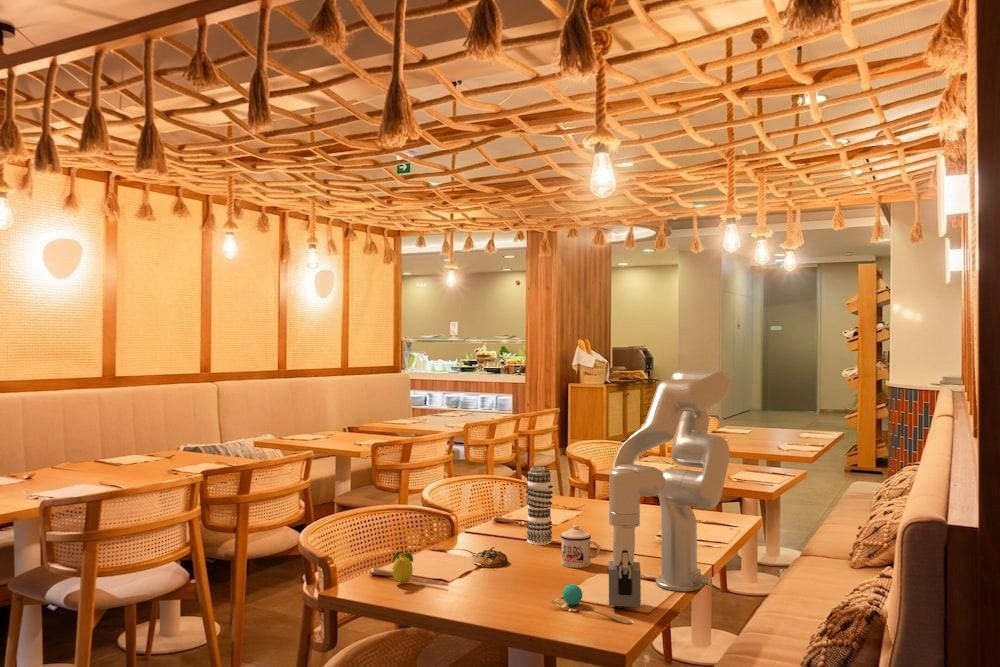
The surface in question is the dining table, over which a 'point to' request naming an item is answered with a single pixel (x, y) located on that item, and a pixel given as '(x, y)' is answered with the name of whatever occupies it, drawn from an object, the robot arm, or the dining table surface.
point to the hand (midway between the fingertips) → (624, 589)
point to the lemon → (402, 567)
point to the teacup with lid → (577, 548)
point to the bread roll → (490, 559)
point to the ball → (572, 594)
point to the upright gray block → (635, 598)
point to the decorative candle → (539, 506)
